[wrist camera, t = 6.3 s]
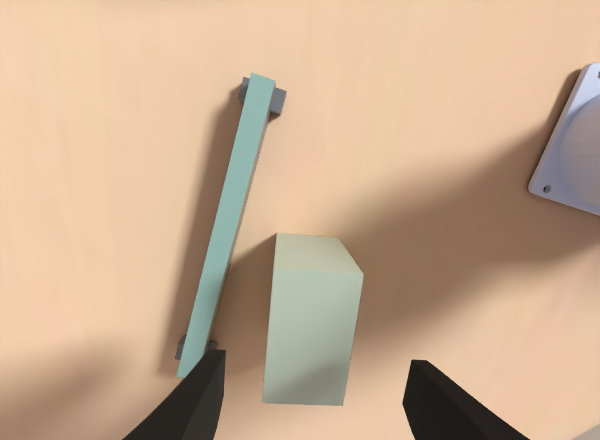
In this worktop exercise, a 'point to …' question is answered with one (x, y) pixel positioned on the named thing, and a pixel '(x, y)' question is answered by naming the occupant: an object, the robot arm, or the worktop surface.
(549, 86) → the worktop surface
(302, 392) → the soap box
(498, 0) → the worktop surface
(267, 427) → the worktop surface
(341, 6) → the worktop surface
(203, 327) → the rail
